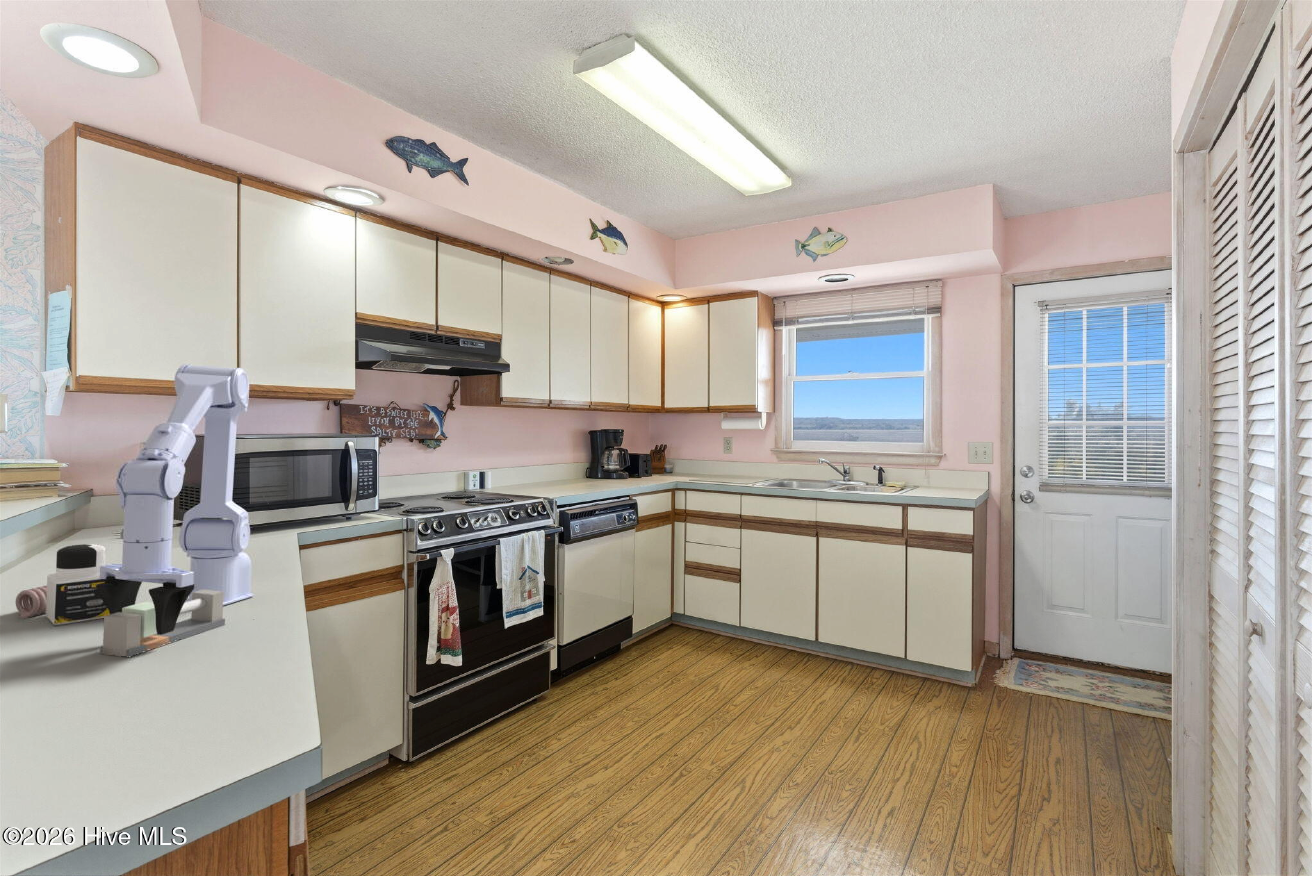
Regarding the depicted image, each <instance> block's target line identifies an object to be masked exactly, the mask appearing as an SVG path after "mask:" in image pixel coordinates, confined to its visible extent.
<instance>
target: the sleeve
mask: <svg viewBox="0 0 1312 876" xmlns="http://www.w3.org/2000/svg"><path fill="white" fill-rule="evenodd" d="M122 613H129V614H138V615H141V635H140V637H142V638H144V637H148V636H151V635H154V634H157V631H156V615H155V608H154V604H153V601H149V602H148V601H143V602H140V603H135V605H131V606H128V607H124V608H122Z"/></svg>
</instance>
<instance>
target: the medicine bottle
mask: <svg viewBox="0 0 1312 876" xmlns="http://www.w3.org/2000/svg"><path fill="white" fill-rule="evenodd" d="M55 563H56V566H55V567H56V568H55V572H56V573H50V574H48V575H47V579H46V585H47V596H46V613H45V617H47V619H48V620H49V621H50V622H51V623H52V624H53V625H54V626H61V625H67V624H74V623H81V622H87V621H93V620H99V619H104V616H106V615H110V613H109V610H108V607H107V605H106V603H105V601H104V599H103V598H102V596H101V595H100V593H99V592H98V591H97V590H96V585H97V584H99V583H104V582H105V580H106V579H100V566H103V565H106V548H105V546H103V545H99V544H93V543H91V544H90V543H88V544H87V543H86V544H85V543H84V544H72V545H67V546H63V547H62V548H59V549H58V550H57V551H56V561H55Z"/></svg>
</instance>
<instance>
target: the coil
mask: <svg viewBox="0 0 1312 876" xmlns="http://www.w3.org/2000/svg"><path fill="white" fill-rule="evenodd" d="M46 596H47V584H46V585H43V586H37V587H34V588H29V589H25V590H21V591H20V592H19V593H18V594H17V595H16V597H15V607H16V609H17V611H18V613H19V614H21V615H20V616H19V617H20V619H29V618H31V617H37V616H39V615H44V614H46Z"/></svg>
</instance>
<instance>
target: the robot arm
mask: <svg viewBox="0 0 1312 876" xmlns="http://www.w3.org/2000/svg"><path fill="white" fill-rule="evenodd" d="M173 383H174V389H175V393H176V400H175V403H174V404H173V408H172V409H171V412H170V414H169V417H168V420H167V421H166V422H165V423H159V424H157V425H156V426H155V427H154V428H153V430H152V432H150V435H149V437H148V438H147V439H146V441H145V443H144V445H143V446H142V448H141V449H140V451H139V452H138V454H137V456H136V458H135V459H131V460H129V461H128V462H125V463H123V464H121V466H120V468H119V470H118V473H117V477H116V479H115V488H116V491H117V493H118V495H119V506H120V510H123V511H124V512H123V513H124V514H123V534H122V535H123V536H122V557H121V560H122V561H121V563H110V564H105V565H103V566H100V579H106V580H105V582H104V583H99V584H97V585H96V590H97V591H98V592H99V593H100V595H101V596H102V598H103V599H104V601H105V603H106V605H107V607H108V610H109V613H110V614H114V613H118V612H121V613H122V608H124V607H128V606H131V605H135V604H136V601H137V597H138V594H139V590H140V588H141V585H142V583H150V584H151V583H153V584H161V585H162V586H158V587H153V588H150V589H148V594H149V595H150V597H151V602H152V603H153V604H154V608H155V615H156V631H157V634H158V635H163V634H166V633H169V632H172V631H174V628H175V625H176V623H178V618H179V616H180V615H181V614H180V611H181V609H182V607H183V605H184V603H185V602H188V601H192V592H196V591H200V590H212V591H221V592H224V593H223V606H226V605H229V604H232V603H236V602H239V601H242V600H246V599H249V598H252V597H254V595H255V593H251V583H252V582H251V580H252V561H251V558H250V557H249V555H248V554H247V553H246V552H244V551H245V549H246V548H247V547H248V545H249V542H250V538H251V528H250V527H251V526H250V524H249V517H250V516H249V512H248V511H246V510H245V509H244V508H243V507H241V506H240V505H238V504H236V503H235V502H234V501H233V490H234V477H235V476H234V475H235V474H234V473H235V459H236V457H235V456H236V444H237V443H236V442H237V441H236V440H237V428H238V427H237V425H238V418H239V415H242V414H245V413H247V411H248V407H249V397H250V381H249V378H248V374H247V373H246V372H245V370H244V369H243V368H242V367H235V368H234V367H221V366H220V367H218V366H204V365H203V366H202V365H190V364H185V363H184V364H182V365H180V367H179V368H178V369H177V370H176V372H175V375H174V382H173ZM203 417H204V419H205V420H204V421H205V425H204V439H203V455H202V456H203V457H202V470H201V482H200V483H201V485H200V487H201V488H200V502H199V503H198V504H197V505H195V506H193V507H192V508H190V509H189V510H187V511H186V512H185V513H184V515H183V519H182V525H181V527H180V531H179V533H178V543H179V547H180V548H181V549H182V551H183V552H184V553H186V557H190V567H189V570H185V569H182V568H178V567H175V566H174V565H173V566H172V548H173V528H174V527H173V526H174V524H173V523H174V508H175V507H174V504H175V503H174V501H175V498H176V497H177V496H178V495H179V493H180V492H181V490H182V488H183V483H184V476H185V473H186V467H185V464H186V461H187V459H188V457H189V456H190V453H191V452H192V450H193V448H194V446H195V444H196V441H197V439H196V435H195V433H194V432H193V431H194V430H195V428H196V427H197V426H198V425H199V423H200V421H201V420H202V419H203ZM208 518H209V519H208Z"/></svg>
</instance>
